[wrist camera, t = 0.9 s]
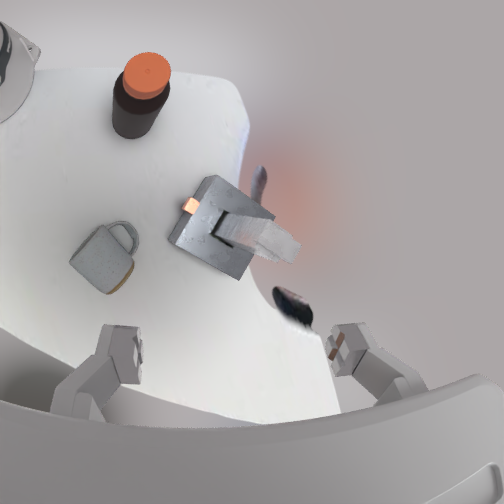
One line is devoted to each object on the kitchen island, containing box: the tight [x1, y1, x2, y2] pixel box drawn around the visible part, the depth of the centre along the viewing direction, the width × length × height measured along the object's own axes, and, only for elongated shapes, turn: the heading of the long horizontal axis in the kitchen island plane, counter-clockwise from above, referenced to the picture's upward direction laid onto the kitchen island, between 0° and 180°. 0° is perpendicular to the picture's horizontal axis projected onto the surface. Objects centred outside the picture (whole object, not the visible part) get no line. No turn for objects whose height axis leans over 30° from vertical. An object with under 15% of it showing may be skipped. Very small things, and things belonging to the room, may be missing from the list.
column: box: [210, 213, 302, 264], centre depth 43 cm, size 5×4×21 cm
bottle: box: [112, 52, 171, 139], centre depth 34 cm, size 7×7×20 cm
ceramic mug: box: [69, 221, 139, 294], centre depth 42 cm, size 11×8×8 cm
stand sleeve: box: [168, 175, 275, 281], centre depth 49 cm, size 14×12×6 cm
